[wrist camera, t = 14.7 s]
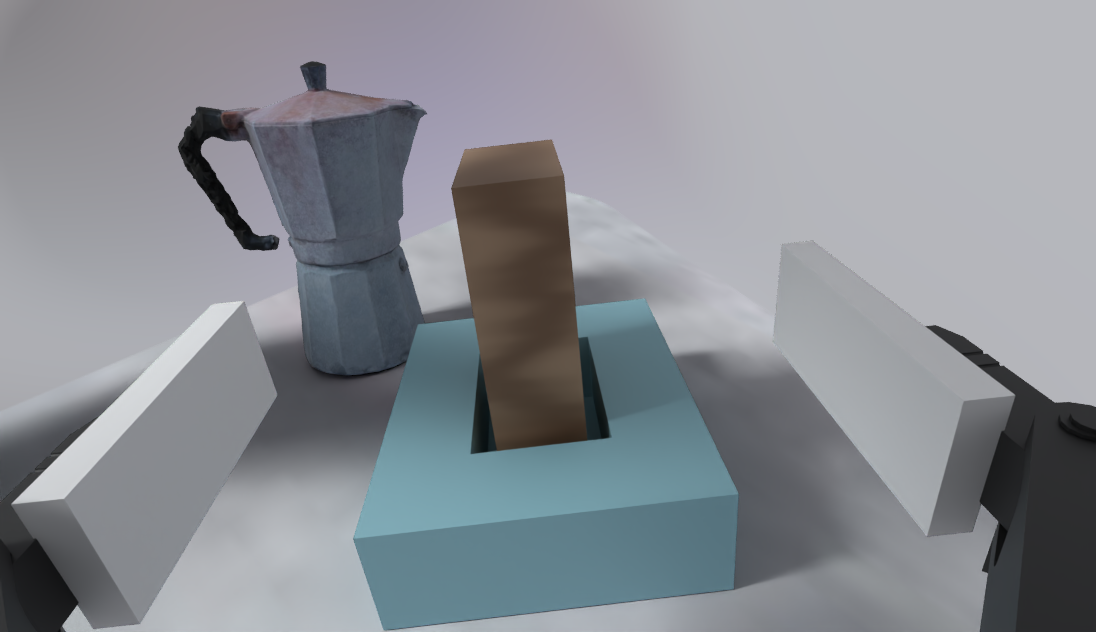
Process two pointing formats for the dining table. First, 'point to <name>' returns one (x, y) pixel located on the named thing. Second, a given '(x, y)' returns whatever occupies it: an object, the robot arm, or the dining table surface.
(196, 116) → the moka pot
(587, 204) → the dining table surface
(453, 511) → the slotted base
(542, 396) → the walnut board
